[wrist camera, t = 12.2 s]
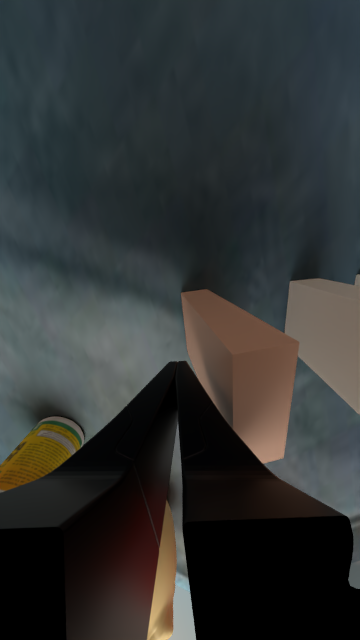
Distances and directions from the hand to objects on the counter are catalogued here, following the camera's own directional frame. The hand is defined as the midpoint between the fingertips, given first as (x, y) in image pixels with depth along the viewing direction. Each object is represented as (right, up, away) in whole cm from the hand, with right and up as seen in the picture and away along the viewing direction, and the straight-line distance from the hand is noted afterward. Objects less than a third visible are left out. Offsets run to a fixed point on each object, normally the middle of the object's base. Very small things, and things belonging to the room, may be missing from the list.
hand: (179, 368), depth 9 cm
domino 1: (+1, +2, +5) cm, 6 cm away
